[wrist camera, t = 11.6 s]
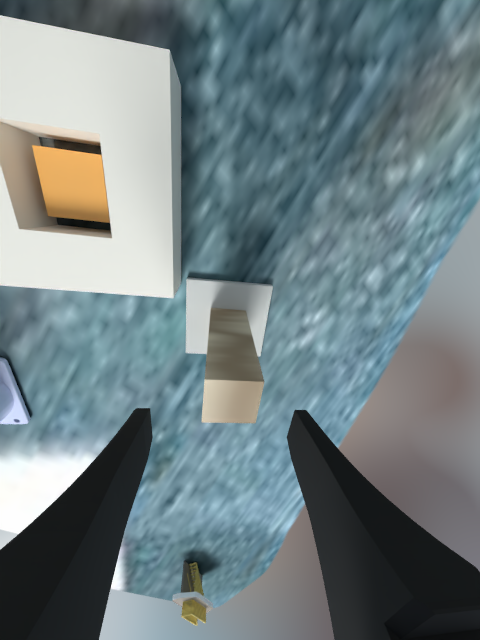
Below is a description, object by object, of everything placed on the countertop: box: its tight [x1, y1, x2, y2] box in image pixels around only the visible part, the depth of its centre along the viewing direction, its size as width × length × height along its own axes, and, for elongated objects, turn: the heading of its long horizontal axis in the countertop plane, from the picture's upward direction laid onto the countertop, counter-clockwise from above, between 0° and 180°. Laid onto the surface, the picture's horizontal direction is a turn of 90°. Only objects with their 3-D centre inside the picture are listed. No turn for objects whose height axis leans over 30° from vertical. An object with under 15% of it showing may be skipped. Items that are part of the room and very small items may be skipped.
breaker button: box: [32, 145, 110, 223], centre depth 14 cm, size 4×4×2 cm
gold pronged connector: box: [173, 561, 213, 625], centre depth 40 cm, size 12×18×7 cm, turn 19°
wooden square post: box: [202, 308, 264, 423], centre depth 16 cm, size 3×3×9 cm
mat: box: [186, 277, 273, 356], centre depth 20 cm, size 7×7×1 cm
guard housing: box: [0, 15, 181, 298], centre depth 14 cm, size 12×12×4 cm
